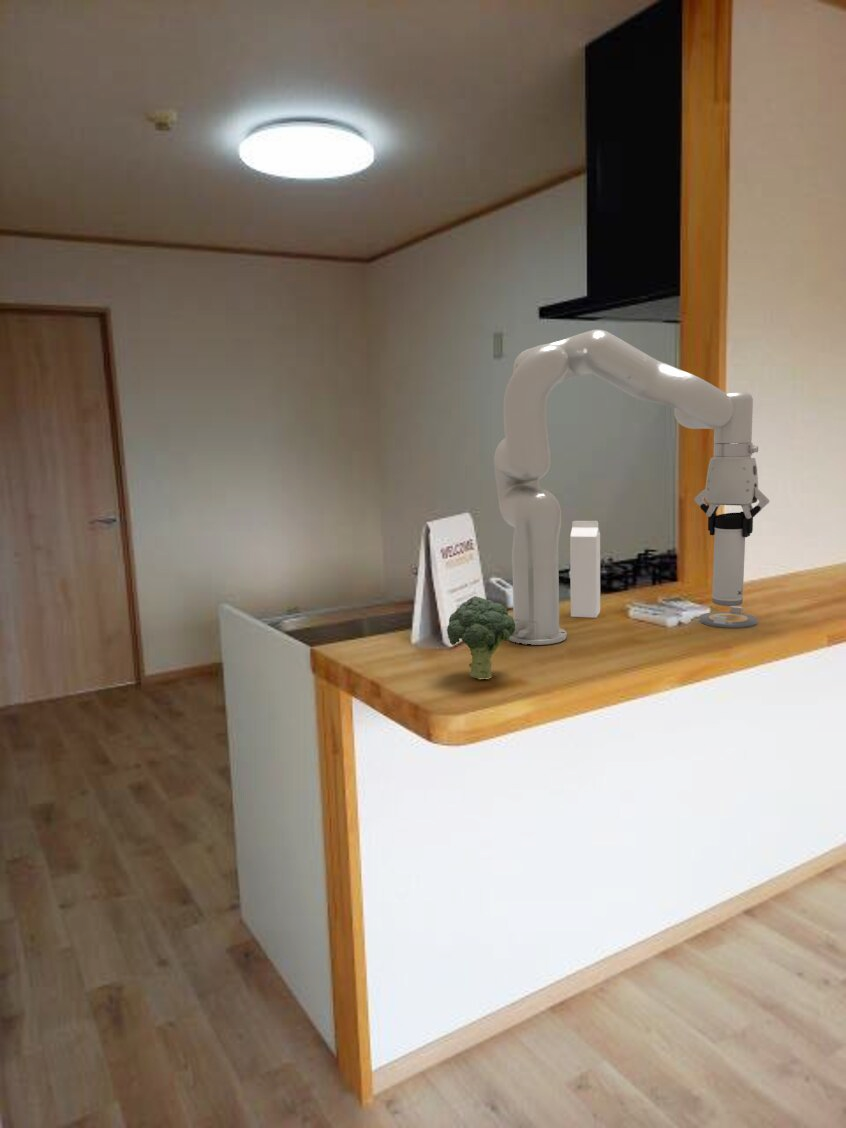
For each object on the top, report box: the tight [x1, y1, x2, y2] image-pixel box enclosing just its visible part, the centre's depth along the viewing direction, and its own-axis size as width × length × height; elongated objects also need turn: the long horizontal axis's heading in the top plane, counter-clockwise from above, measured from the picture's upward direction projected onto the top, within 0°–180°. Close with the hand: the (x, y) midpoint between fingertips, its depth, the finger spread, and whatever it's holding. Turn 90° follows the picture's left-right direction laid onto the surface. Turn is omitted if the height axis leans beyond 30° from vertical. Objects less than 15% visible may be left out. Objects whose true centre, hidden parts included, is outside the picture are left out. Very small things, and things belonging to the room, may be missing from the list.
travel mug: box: [711, 511, 746, 607], centre depth 182 cm, size 6×7×20 cm
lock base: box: [699, 606, 759, 629], centre depth 184 cm, size 12×12×2 cm
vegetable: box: [446, 595, 516, 679], centre depth 150 cm, size 12×13×15 cm
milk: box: [569, 520, 601, 619], centre depth 194 cm, size 6×6×22 cm
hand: (729, 534), depth 181 cm, fingers closed on travel mug, 6 cm apart
